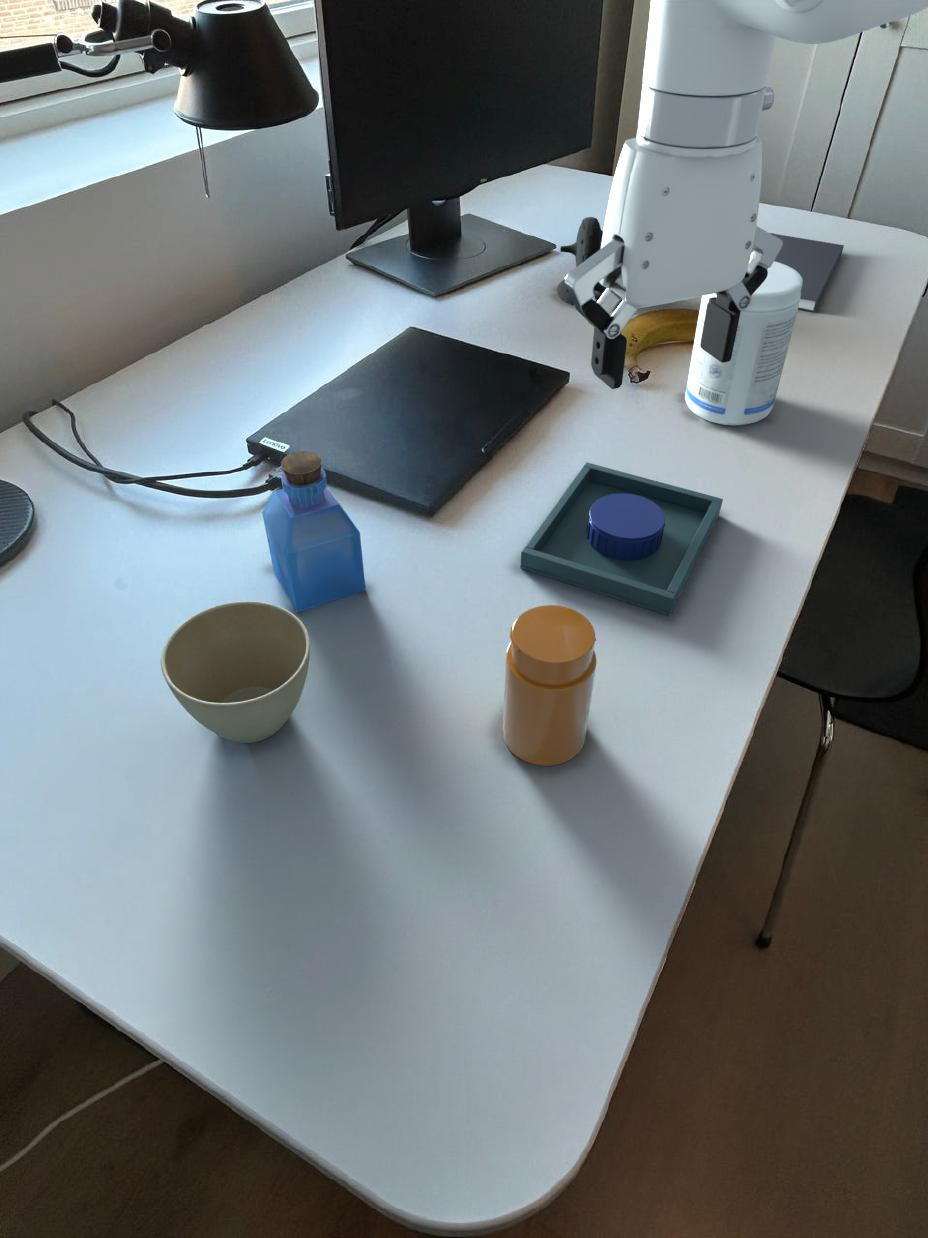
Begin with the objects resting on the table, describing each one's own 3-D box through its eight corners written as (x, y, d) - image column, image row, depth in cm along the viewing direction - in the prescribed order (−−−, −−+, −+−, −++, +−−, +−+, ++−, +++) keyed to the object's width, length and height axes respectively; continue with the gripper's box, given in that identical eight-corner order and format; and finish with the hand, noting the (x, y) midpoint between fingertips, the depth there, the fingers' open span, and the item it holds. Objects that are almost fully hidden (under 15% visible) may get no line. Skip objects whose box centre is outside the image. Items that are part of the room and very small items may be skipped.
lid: (575, 520, 82) (578, 498, 80) (643, 510, 83) (647, 488, 81) (601, 566, 77) (605, 543, 75) (673, 554, 78) (678, 531, 76)
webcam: (614, 307, 116) (624, 229, 109) (558, 307, 116) (564, 229, 109) (609, 283, 121) (617, 207, 115) (555, 283, 122) (560, 207, 115)
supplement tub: (761, 385, 101) (794, 256, 91) (780, 429, 94) (818, 295, 84) (676, 384, 101) (699, 255, 91) (689, 428, 94) (716, 294, 84)
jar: (560, 692, 67) (571, 592, 60) (600, 749, 63) (617, 649, 56) (489, 716, 65) (492, 616, 58) (525, 777, 61) (533, 677, 54)
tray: (584, 477, 87) (586, 461, 86) (719, 515, 83) (723, 498, 82) (520, 568, 77) (521, 551, 76) (669, 616, 73) (673, 599, 72)
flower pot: (212, 794, 60) (189, 727, 55) (165, 700, 66) (141, 632, 61) (344, 733, 64) (334, 666, 59) (288, 650, 70) (274, 582, 65)
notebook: (813, 312, 115) (841, 255, 129) (817, 300, 114) (844, 244, 128) (717, 293, 119) (754, 241, 133) (720, 282, 118) (756, 230, 132)
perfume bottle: (273, 569, 77) (250, 452, 69) (339, 549, 79) (324, 433, 71) (297, 612, 73) (275, 493, 65) (365, 589, 75) (353, 472, 67)
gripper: (772, 89, 61) (726, 327, 72) (549, 119, 56) (538, 369, 67) (848, 113, 55) (785, 365, 67) (610, 149, 51) (586, 414, 62)
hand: (661, 367), depth 67 cm, fingers open, 9 cm apart
